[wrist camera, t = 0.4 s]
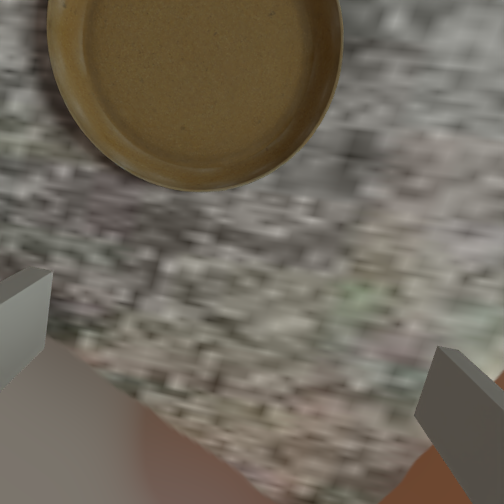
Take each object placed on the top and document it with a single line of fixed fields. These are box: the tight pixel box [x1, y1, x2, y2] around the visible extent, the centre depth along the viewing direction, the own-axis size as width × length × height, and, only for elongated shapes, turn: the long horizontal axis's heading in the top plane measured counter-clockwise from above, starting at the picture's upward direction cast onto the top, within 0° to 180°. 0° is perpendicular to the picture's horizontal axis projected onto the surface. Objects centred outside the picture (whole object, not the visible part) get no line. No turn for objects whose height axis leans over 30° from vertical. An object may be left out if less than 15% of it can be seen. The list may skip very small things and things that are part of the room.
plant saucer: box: [47, 0, 344, 192], centre depth 36 cm, size 24×24×3 cm
